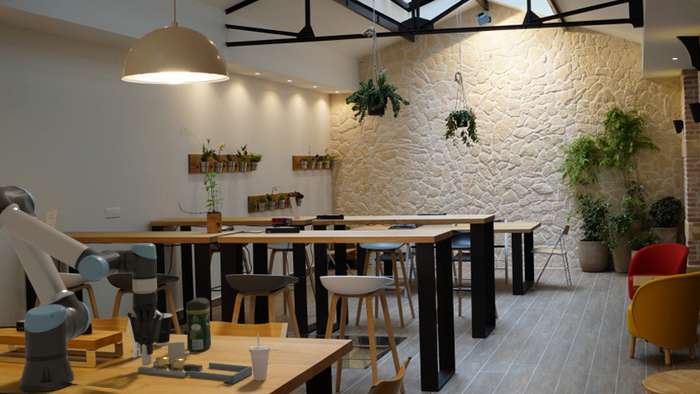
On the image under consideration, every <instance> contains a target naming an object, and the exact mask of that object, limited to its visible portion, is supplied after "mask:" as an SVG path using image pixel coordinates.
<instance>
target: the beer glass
mask: <svg viewBox="0 0 700 394" xmlns="http://www.w3.org/2000/svg"><path fill="white" fill-rule="evenodd" d="M129 326H130V335H131V336H130V337H131V340H132V345H133V351H132V358H133V359H134V358H136V357H137V358H138V357H142V354H141V353H140V344H139V343H138V342H135V340H134V336H133V331H132V326H131V322H130V325H129Z"/></svg>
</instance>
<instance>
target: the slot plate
mask: <svg viewBox="0 0 700 394" xmlns="http://www.w3.org/2000/svg"><path fill="white" fill-rule="evenodd" d="M152 364H153V366H151V367H150V366H148V367H147V366H139V367H137V373H138V374H148V375H157V376H165V377H167V376H168V377H174V378H175V377H176V378H183V379H186V378H188V377H190V371H195V372H203V364H193V363H185V371H179V370H172V365H171V361H169V369H160V368H156V360H154V361H153V363H152Z"/></svg>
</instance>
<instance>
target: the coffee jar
mask: <svg viewBox="0 0 700 394" xmlns="http://www.w3.org/2000/svg"><path fill="white" fill-rule="evenodd" d="M185 307H186V308H185V311H186V325H187V327H186V328H187V329H186V332H187V333H186V338H187V340H186V341H187V342H186V343H187V345H186V346H187V347H186V348H187V351H189V352H190V351H191V352H200V351H207V350H208V349H209V348H210V347H211V346H212V338H211V320H210V319H211V317H210V316H211V314H210V311H211V303H210V300H209V299H208V298H206V297H196V298H194V299H192V300H190V301H188V302H186V304H185Z"/></svg>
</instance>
